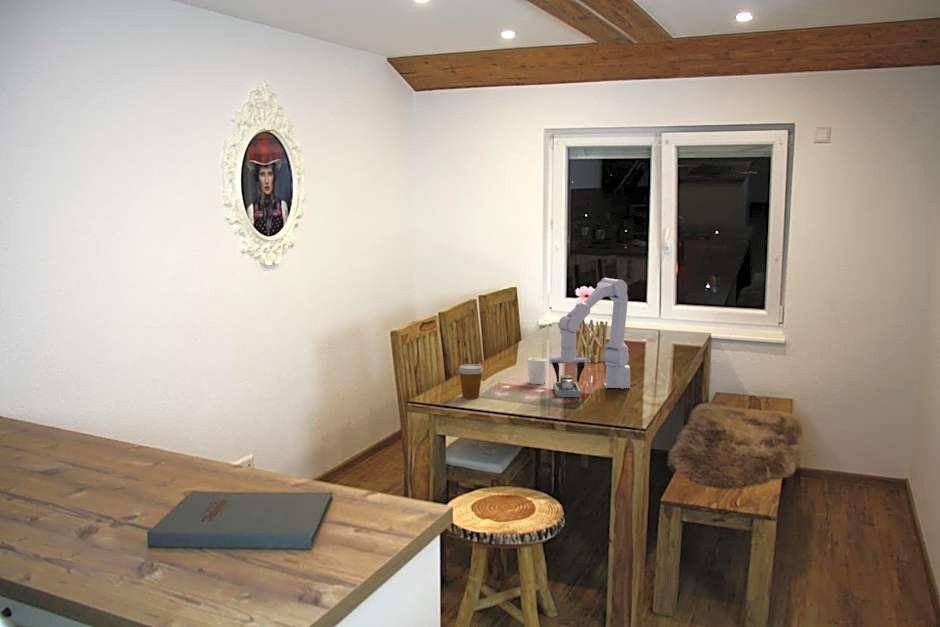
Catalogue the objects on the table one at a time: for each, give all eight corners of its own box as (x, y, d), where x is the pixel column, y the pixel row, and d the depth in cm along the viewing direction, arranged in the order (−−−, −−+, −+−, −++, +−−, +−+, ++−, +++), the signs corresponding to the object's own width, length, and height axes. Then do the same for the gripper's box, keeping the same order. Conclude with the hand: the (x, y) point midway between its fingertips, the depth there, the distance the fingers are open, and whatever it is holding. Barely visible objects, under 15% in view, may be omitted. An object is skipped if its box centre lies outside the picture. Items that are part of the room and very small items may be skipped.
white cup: (545, 385, 323) (546, 361, 321) (526, 384, 324) (526, 360, 323) (547, 381, 330) (548, 357, 329) (528, 380, 332) (529, 356, 330)
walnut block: (570, 387, 317) (570, 375, 316) (571, 390, 313) (571, 377, 312) (560, 387, 317) (560, 375, 316) (561, 390, 313) (561, 377, 312)
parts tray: (576, 388, 318) (576, 382, 318) (580, 397, 304) (580, 390, 304) (553, 388, 318) (553, 382, 318) (556, 396, 304) (556, 390, 304)
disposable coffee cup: (474, 401, 297) (474, 370, 296) (453, 398, 302) (453, 367, 301) (487, 396, 305) (488, 365, 304) (466, 392, 310) (466, 362, 309)
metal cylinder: (574, 393, 307) (575, 380, 307) (566, 394, 305) (566, 382, 305) (568, 391, 311) (568, 378, 310) (560, 392, 309) (560, 380, 308)
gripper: (550, 349, 302) (550, 384, 304) (588, 349, 302) (588, 384, 304) (548, 345, 309) (548, 379, 311) (586, 345, 308) (585, 379, 311)
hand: (567, 381), depth 308 cm, fingers open, 7 cm apart
